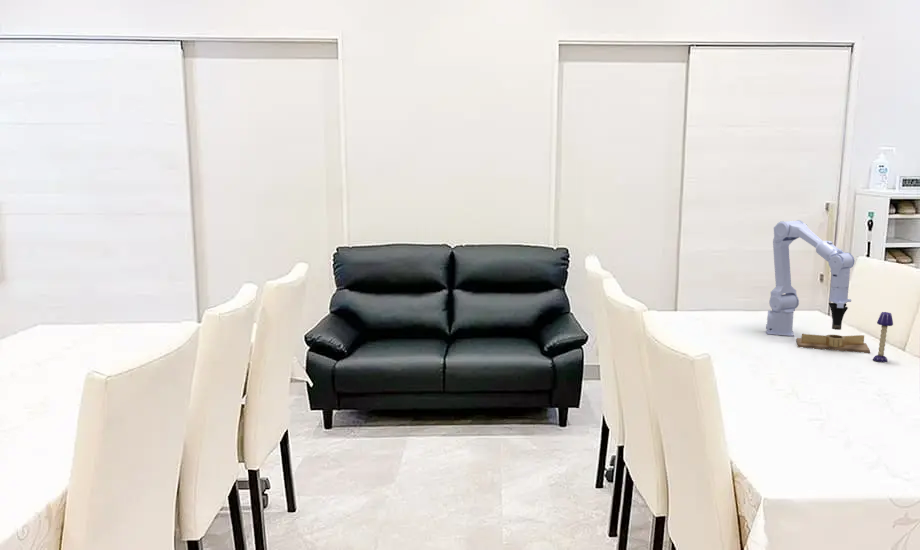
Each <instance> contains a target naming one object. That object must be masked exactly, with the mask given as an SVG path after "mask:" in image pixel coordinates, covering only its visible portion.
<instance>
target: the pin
mask: <svg viewBox="0 0 920 550" xmlns="http://www.w3.org/2000/svg"><path fill="white" fill-rule="evenodd" d="M831 320H832V319H831ZM842 323H843V322H842ZM842 323H841V325H834V323H833V320H832V322H831V324H832V325H831V329H832V330H836V331H841V330H842V325H843V324H842Z"/></svg>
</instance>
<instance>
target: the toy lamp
mask: <svg viewBox="0 0 920 550" xmlns="http://www.w3.org/2000/svg"><path fill="white" fill-rule="evenodd" d="M877 319H878V320H877V321H876V323H877V325H880V326H881V329H880V338H879V343H878V344H879V345H878V346H879V347H878V352H877V354H876V355H874V357H873V359H872V360H873V361H874V362H877V361H878V362H879V363H887V362H888V358H887V357H886V356H885V351H886V350H885V349H886V347H885V346H886V342H887V341H886V340H887V339H886V338H887V333H888V327H892V326H894V321H893V315H892V313H891V312H886V311H882V312H880V315H879V317H878V318H877Z"/></svg>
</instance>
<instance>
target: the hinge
mask: <svg viewBox="0 0 920 550" xmlns="http://www.w3.org/2000/svg"><path fill="white" fill-rule="evenodd" d="M801 338H802V340H801V343H809V344H821V345H827V346H830V347H838V348H839V347H845V345H860V344H864V343H865V335H864V334H863V335H860V334H859V335H858V334H857V335H840V334H827V335H826V334H825V335H824V334H823V335H819V334H810V333H802V334H801Z"/></svg>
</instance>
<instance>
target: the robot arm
mask: <svg viewBox="0 0 920 550" xmlns="http://www.w3.org/2000/svg"><path fill="white" fill-rule="evenodd" d="M799 238H800V239H802V240H803V241H804V242H806V243H807V244H809V245H810V246H812V247H813V248H815V253H816V254H817V255H819V256H820V257H821V258H822V259H823V260H825V261H827V263H828V266H829V268H830V275H831V276H830V291H829V297H828V301H829V302H828V306H829V307H830V312H831V320H833V323H834V325H841V323H843V318H844V315H845V314H846V312H847V310H848V309H849V307H848V306H847V303H851V302H852V299H850V298H849V287H850V286H849V285H850V274H851V268H853V267H854V265H855V262H856V261H855V258H854V256H853V254H852V253H851V252H844V251H843V250H842V249H841V248H838V247H837V246H835V244H834V242H833V241H832V240H823V239H821V238H820V237H819V236H818V235H817V234H816V233H814V231H812V230H811V229H810V228H809V227H808V225H807V224H806V223H804V222H803V221H802V220H800V219H797V220H791V221H790V220H786V221H784V220H782V221H778V222H777V224H775V226H773V239H772V247H773V249H772V250H773V261H774V262H773V263H774V279H775V287H774V288H773V289H772V290H771V291H770V297H769V303H768V304H769V306H770V309H771V310H770V309H769V310H767V319H766V321H767V322H766V324H765V329H766V334H767V335H774V336H776V335H777V336H788V337H794V331H793V328H794V327H793V325H794V314H795V313H794V312H795V311H796V309H797V308H798V307H799V304H800V300H799V297H798V295H797V290H796V289H795V288H794V287H793V286H792V278H791V263H790V260H791V259H790V245H791V244H792V243H793V242H794V241H796V240H797V239H799Z"/></svg>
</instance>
